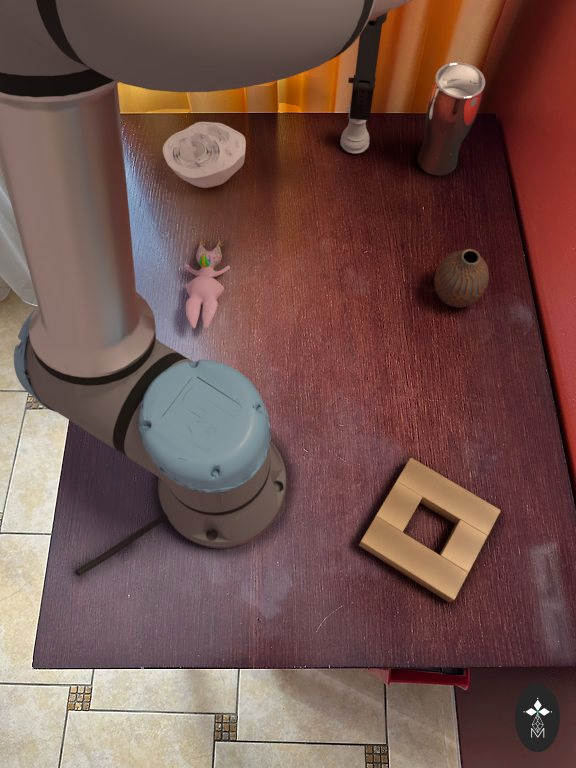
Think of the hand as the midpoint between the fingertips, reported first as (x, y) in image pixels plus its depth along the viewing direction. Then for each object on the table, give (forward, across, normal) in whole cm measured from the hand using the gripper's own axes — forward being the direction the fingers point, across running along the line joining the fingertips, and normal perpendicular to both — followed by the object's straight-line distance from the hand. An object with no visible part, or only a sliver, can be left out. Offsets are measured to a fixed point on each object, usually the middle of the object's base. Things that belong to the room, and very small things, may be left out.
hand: (364, 80), depth 95 cm
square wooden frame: (+11, -58, -14) cm, 61 cm away
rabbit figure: (+12, -29, +18) cm, 36 cm away
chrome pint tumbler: (+12, -2, -12) cm, 17 cm away
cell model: (+12, -9, +21) cm, 26 cm away
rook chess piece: (+12, 0, 0) cm, 12 cm away
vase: (+12, -25, -16) cm, 32 cm away
